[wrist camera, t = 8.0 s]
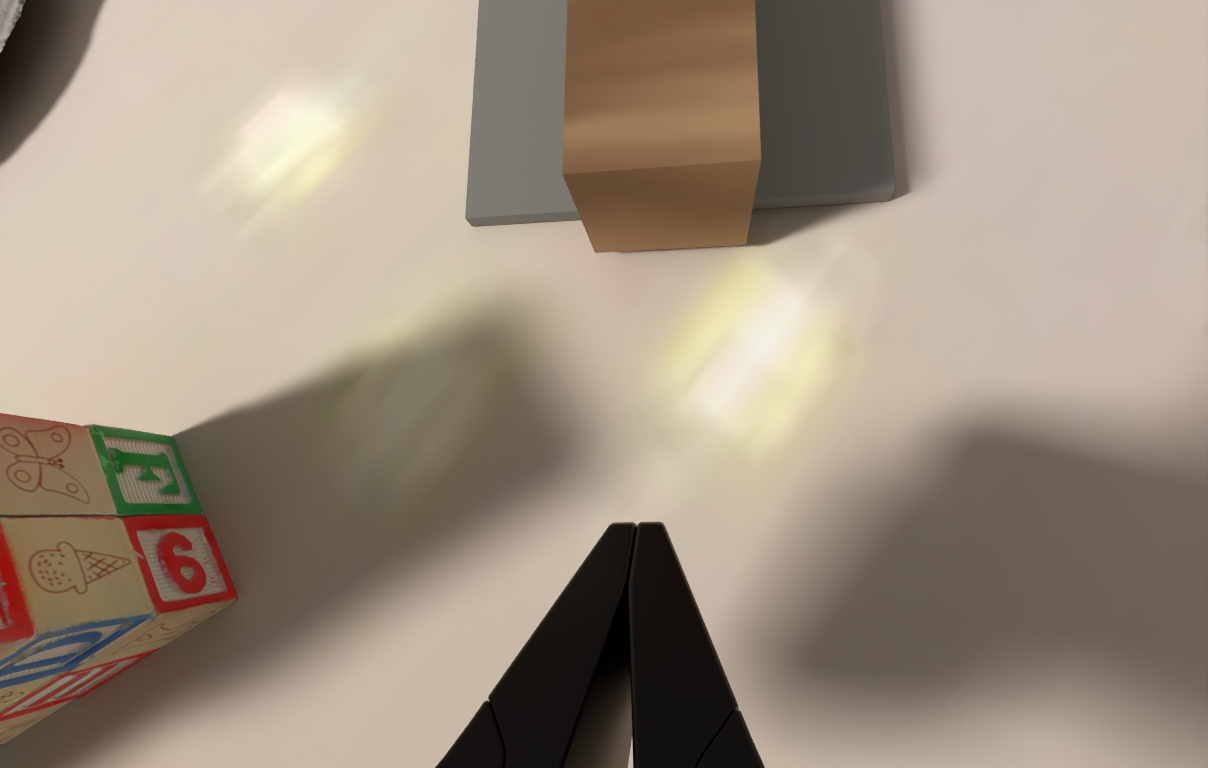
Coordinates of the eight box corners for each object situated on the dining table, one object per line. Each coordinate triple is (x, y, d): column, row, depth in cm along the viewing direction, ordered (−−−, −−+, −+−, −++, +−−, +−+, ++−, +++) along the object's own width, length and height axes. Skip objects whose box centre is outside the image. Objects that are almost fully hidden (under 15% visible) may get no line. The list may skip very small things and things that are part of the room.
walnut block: (761, 159, 13) (745, -231, 15) (562, 174, 14) (573, -201, 16) (746, 244, 17) (735, -68, 20) (595, 252, 18) (600, -50, 20)
